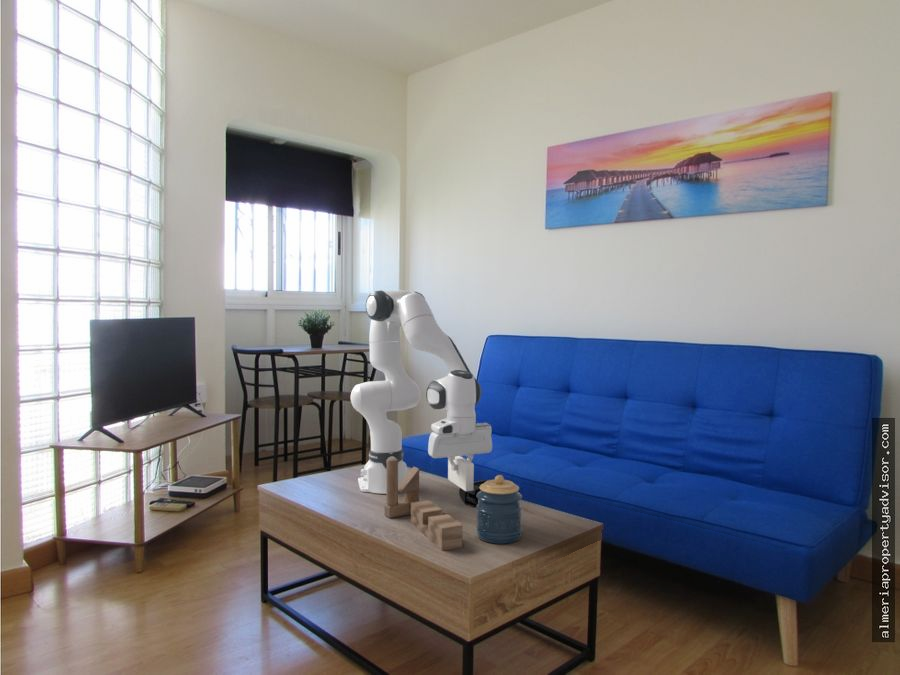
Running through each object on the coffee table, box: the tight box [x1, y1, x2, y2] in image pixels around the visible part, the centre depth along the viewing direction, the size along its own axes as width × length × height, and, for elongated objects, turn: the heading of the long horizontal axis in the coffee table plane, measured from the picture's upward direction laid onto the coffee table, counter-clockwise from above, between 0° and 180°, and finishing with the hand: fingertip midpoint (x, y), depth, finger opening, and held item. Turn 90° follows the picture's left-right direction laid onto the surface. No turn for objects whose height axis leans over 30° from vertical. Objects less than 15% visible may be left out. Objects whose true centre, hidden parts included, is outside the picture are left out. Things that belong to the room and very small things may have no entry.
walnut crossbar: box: [410, 499, 463, 551], centre depth 179 cm, size 24×6×6 cm, turn 24°
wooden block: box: [384, 458, 420, 519], centre depth 195 cm, size 4×11×18 cm, turn 123°
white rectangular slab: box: [447, 456, 475, 491], centre depth 188 cm, size 13×2×8 cm, turn 24°
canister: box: [475, 474, 523, 545], centre depth 177 cm, size 13×13×18 cm
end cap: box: [458, 479, 488, 509], centre depth 208 cm, size 10×7×7 cm
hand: (460, 469), depth 188 cm, fingers closed on white rectangular slab, 2 cm apart
